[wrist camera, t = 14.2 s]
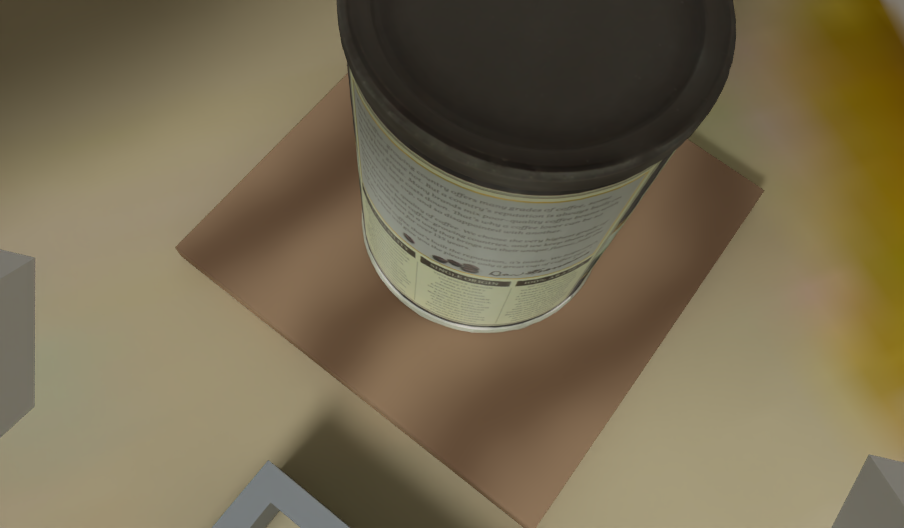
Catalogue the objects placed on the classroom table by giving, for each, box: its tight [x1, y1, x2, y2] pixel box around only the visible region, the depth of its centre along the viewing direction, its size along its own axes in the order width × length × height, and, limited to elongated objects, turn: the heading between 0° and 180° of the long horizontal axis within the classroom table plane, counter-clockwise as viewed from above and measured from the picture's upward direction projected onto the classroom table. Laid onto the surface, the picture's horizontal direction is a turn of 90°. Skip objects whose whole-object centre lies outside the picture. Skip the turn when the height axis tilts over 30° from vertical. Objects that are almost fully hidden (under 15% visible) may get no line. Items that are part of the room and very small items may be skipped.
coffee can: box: [337, 0, 736, 333], centre depth 26 cm, size 10×10×14 cm
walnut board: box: [175, 73, 764, 528], centre depth 33 cm, size 18×18×1 cm
